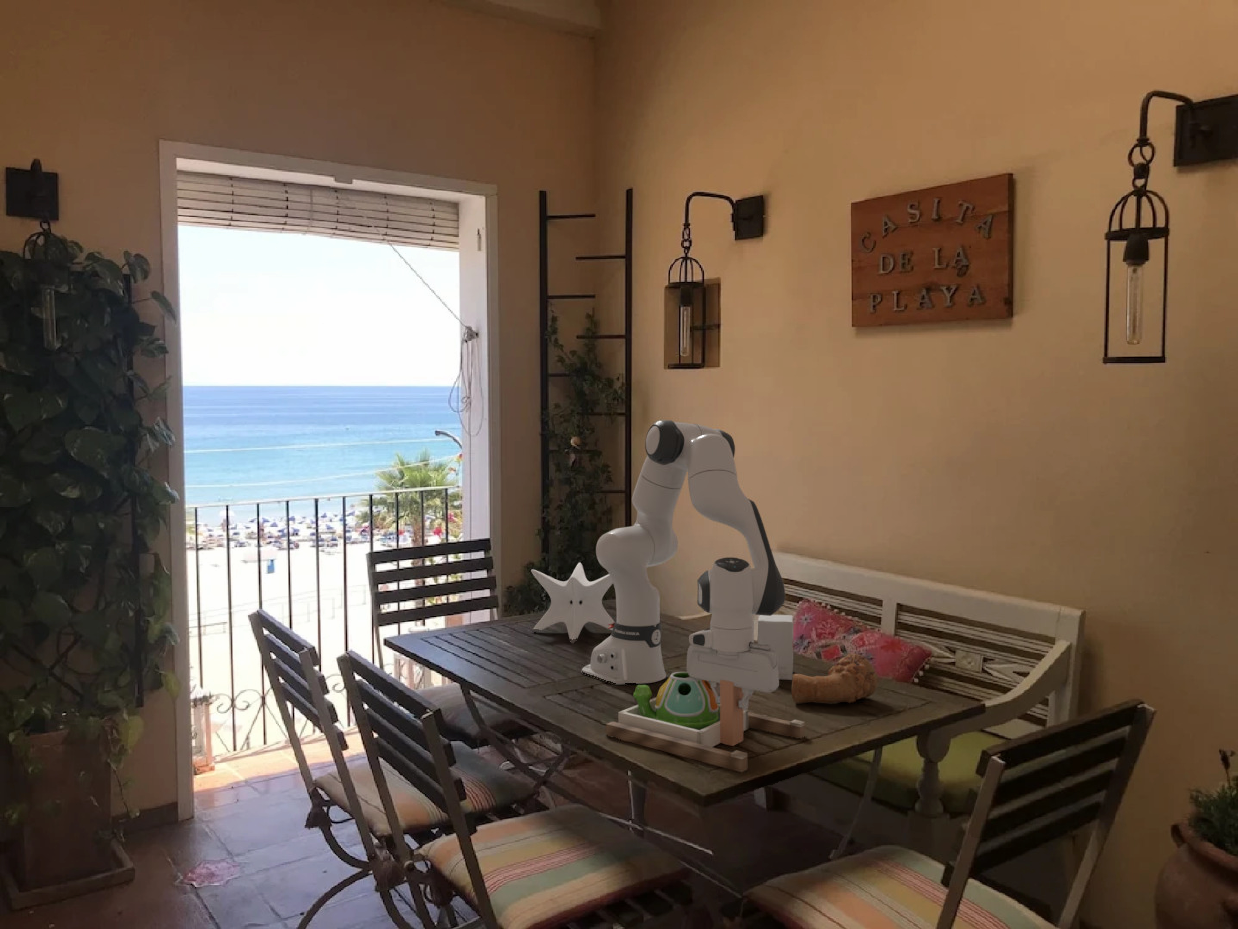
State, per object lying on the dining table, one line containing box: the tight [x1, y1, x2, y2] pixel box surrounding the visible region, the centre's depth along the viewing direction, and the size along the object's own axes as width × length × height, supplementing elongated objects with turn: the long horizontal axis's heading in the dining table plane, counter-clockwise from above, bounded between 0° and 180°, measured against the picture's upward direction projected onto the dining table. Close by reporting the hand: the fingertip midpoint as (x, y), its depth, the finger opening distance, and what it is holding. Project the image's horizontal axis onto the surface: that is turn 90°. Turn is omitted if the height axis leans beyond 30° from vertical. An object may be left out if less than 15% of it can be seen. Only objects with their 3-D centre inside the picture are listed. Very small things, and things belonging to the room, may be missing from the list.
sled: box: [617, 680, 749, 748], centre depth 197 cm, size 24×18×13 cm
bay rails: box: [605, 711, 806, 773], centre depth 195 cm, size 33×25×3 cm
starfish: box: [530, 562, 615, 640], centre depth 289 cm, size 20×20×20 cm
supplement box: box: [757, 614, 794, 681], centre depth 240 cm, size 9×9×15 cm
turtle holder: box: [633, 671, 719, 730], centre depth 199 cm, size 12×18×12 cm
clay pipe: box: [791, 653, 879, 705], centre depth 219 cm, size 19×11×15 cm
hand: (731, 706), depth 190 cm, fingers open, 4 cm apart
